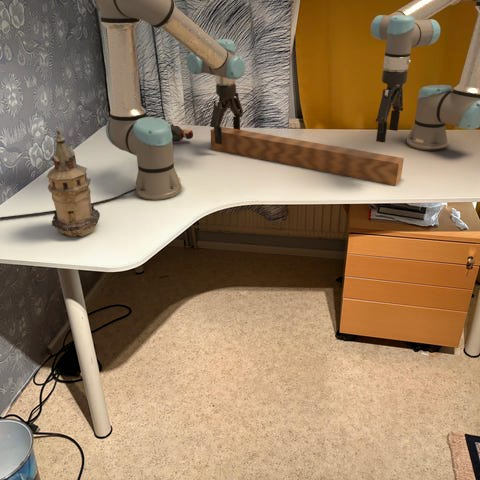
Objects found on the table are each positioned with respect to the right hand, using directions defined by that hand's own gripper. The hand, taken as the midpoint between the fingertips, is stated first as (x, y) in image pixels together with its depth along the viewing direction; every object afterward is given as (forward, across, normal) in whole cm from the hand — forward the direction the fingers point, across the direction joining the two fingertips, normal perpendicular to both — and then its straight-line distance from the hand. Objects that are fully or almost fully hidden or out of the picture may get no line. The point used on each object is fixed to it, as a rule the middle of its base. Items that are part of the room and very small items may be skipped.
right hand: (387, 135), depth 177 cm
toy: (+16, -5, +93) cm, 95 cm away
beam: (+16, 0, +31) cm, 35 cm away
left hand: (+11, 0, +62) cm, 63 cm away
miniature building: (+16, -78, +65) cm, 103 cm away
